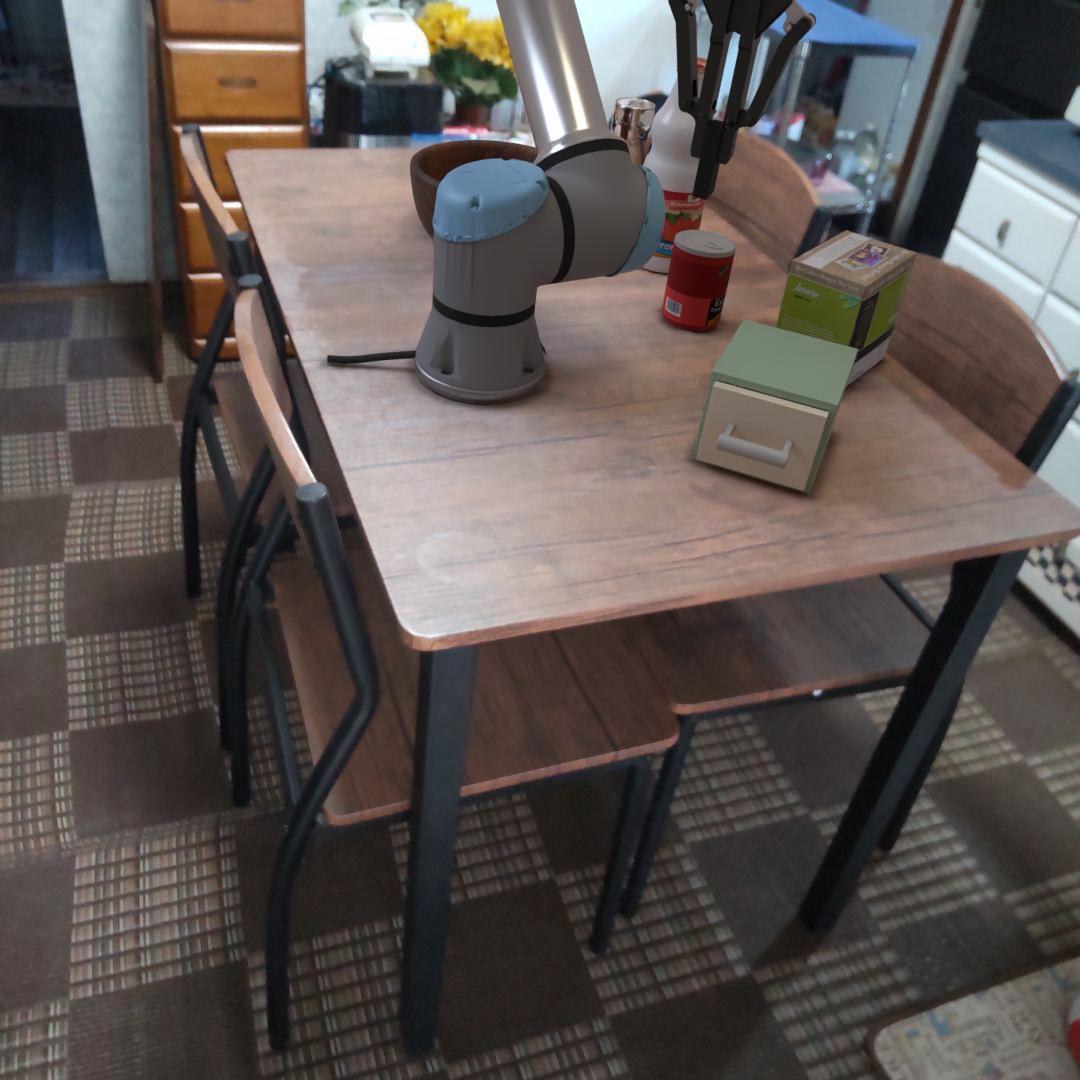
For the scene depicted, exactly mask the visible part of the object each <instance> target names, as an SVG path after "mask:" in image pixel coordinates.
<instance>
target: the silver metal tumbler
mask: <svg viewBox="0 0 1080 1080" xmlns="http://www.w3.org/2000/svg"><path fill="white" fill-rule="evenodd" d="M655 115H656V103H654V102H652V101H650V100H647V99H644V98H640V97H630V96H629V97H628V96H626V97H625V96H624V97H619V98H617V99H615V103H614V108H613V112H612V116H611V123H610V129H609V130H610V132H612V133H614V134H616V135H617V136H619V137H621V138H623V139H625V141H626V142H627V145H628V149H629V152H630V156H631V159H632V163H633V165H642V166H645V162H646V158H647V156H648V154H649V150H650V146H651V144H652V138H651V127H652V122H653V119H654V117H655Z"/></svg>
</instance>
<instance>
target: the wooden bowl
mask: <svg viewBox="0 0 1080 1080" xmlns="http://www.w3.org/2000/svg"><path fill="white" fill-rule="evenodd" d="M537 155H538V154H537V150H536V147H535V146H531V145H528V144H523V143H517V142H510V141H504V140H503V141H502V140H493V139H492V140H490V139H460V140H450V141H444V142H438V143H434V144H431V145H429V146H428V145H427V146H426V147H424V148H422V149H420V150H418V151H416V153H414V154H413V156H412V157H411V159H410V162H409V175H410V183H411V192H412V197H413V203H414V206H415V211H416V213H417V217H418V218H419V221H420V224H421V225H422V227H423V228H424V230H425V232H426V233H427V234H428V235H429V237H430V238H432V239H433V240H434V227H433V216H434V212H435V204H436V196H437V190H438V187H439V184H440V183H441V181H442V180H443V179H444V177H445V176H446V175H447V174H448V173H449V172H451V171H452V170H454V169H455V168H457V167H459V166H462V165H464V164H467V163H471V162H475V161H479V160H486V159H499V158H500V159H503V160H504V161H507V160H511V159H516V160H521V161H526V162H529V163H532V164H533V163H534V161H535V159H536V158H537Z"/></svg>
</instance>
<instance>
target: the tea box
mask: <svg viewBox="0 0 1080 1080" xmlns="http://www.w3.org/2000/svg"><path fill="white" fill-rule="evenodd" d="M917 254H918V252H916V251H913V250H910V249H908V248H904V247H900V246H897V245H894V244H891V243H888V242H885V241H881V240H879V239H874V238H872V237H869V236H865V235H864V234H863V235H862V234H859V233H857V232H854V231H850V230H849V229H846V230H844V231H842V232H839V234H836V235H834V236H833V237H831V238H829V239H828V240H826V241H824V242H822V243H821V244H819V245H817V246H815V247H813V248H812V249H810V250H808V251H806V252H804V253H802V254H801V255H799V256H798V257H796V258H795V257H794V258H793V259H792V261H791V263H790V266H789V270H788V275H787V278H786V283H785V287H784V292H783V295H782V299H781V302H780V307H779V313H778V317H777V319H776V324H775V328H779V329H783V330H787V331H791V332H795V333H798V334H802V335H806V336H810V337H814V338H818V339H821V340H825V341H829V342H833V343H837V344H841V345H845V346H848V347H852V348H856V349H858V352H857V355H856V358H855V361H854V364H853V367H852V371H851V374H850V377H849V380H848V383H847V386H846V387H848V386H849V385H850V384H851V383H853V382H854V381H855V380H857V379H858V378H859V377H861V376H863V374H865V373H866V372H867V371H869V370H870V369H871V368H873V367H874V366H875V365H877V364H878V363H879V362H881V361H882V360H883V359H884V358H885V357H886V354H887V351H888V347H889V345H890V342H891V339H892V334H893V331H894V328H895V326H896V322H897V319H898V316H899V312H900V309H901V306H902V303H903V301H904V296H905V294H906V290H907V287H908V283H909V280H910V277H911V274H912V271H913V268H914V264H915V261H916V257H917Z"/></svg>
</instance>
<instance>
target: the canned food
mask: <svg viewBox="0 0 1080 1080" xmlns="http://www.w3.org/2000/svg"><path fill="white" fill-rule="evenodd" d="M736 248H737V245H736V242H734V241H733V240H732V239H731V238H729V237H728V236H726V235H723V234H721V233H718V232H715V231H710V230H705V229H699V230H686V231H681V232H679V233H677V234H676V237H675V239H674V245H673V249H672V255H671V261H670V266H669V272H668V273H667V276H666V277H667V278H666V283H665V289H664V294H663V299H662V300H663V301H662V305H661V314H662V318H663V320H664V321H666V322H667V323H668V324H670V325H671V326H673V327H675V328H677V329H680V330H684V331H689V332H707V331H710V330H713V329H715V328H716V327H717V325H718V324H719V322H720V320H721V317H722V312H723V310H724V309H723V308H724V304H725V299H726V295H727V291H728V287H729V282H730V278H731V274H732V269H733V264H734V260H735V254H736Z"/></svg>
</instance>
